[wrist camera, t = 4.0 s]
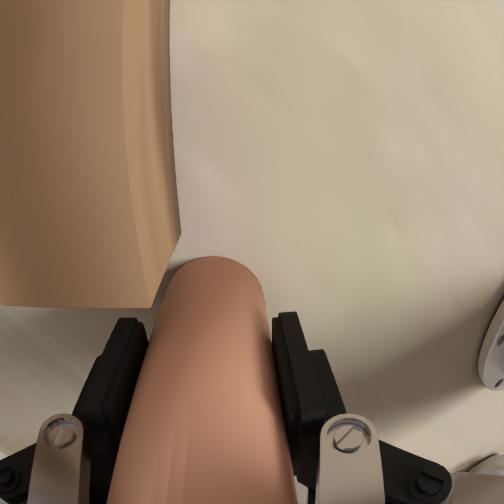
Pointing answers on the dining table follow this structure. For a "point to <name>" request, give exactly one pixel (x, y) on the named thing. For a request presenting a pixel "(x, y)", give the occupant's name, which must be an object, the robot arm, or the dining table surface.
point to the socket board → (85, 153)
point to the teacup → (490, 466)
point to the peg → (207, 399)
